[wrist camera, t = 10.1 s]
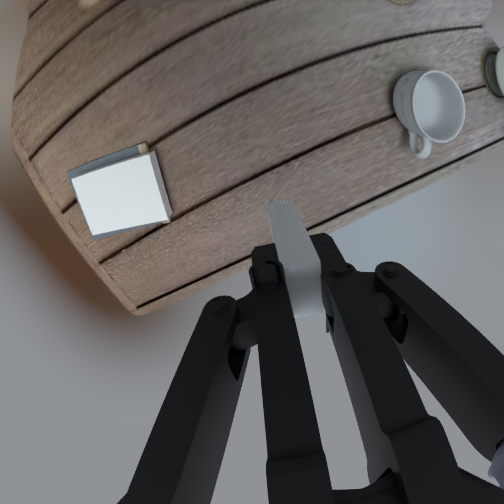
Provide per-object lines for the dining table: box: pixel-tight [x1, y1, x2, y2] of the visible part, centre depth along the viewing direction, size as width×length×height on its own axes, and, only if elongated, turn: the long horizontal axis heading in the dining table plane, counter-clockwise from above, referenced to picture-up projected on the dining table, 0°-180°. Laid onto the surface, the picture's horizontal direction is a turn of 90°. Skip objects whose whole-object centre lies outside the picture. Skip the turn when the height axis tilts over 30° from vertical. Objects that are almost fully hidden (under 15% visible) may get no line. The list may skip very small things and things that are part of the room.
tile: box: [71, 151, 172, 235], centre depth 40 cm, size 3×10×14 cm
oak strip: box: [138, 142, 171, 224], centre depth 41 cm, size 1×13×1 cm, turn 11°
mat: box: [67, 143, 162, 240], centre depth 42 cm, size 15×13×1 cm
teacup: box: [393, 70, 465, 159], centre depth 33 cm, size 14×11×8 cm
